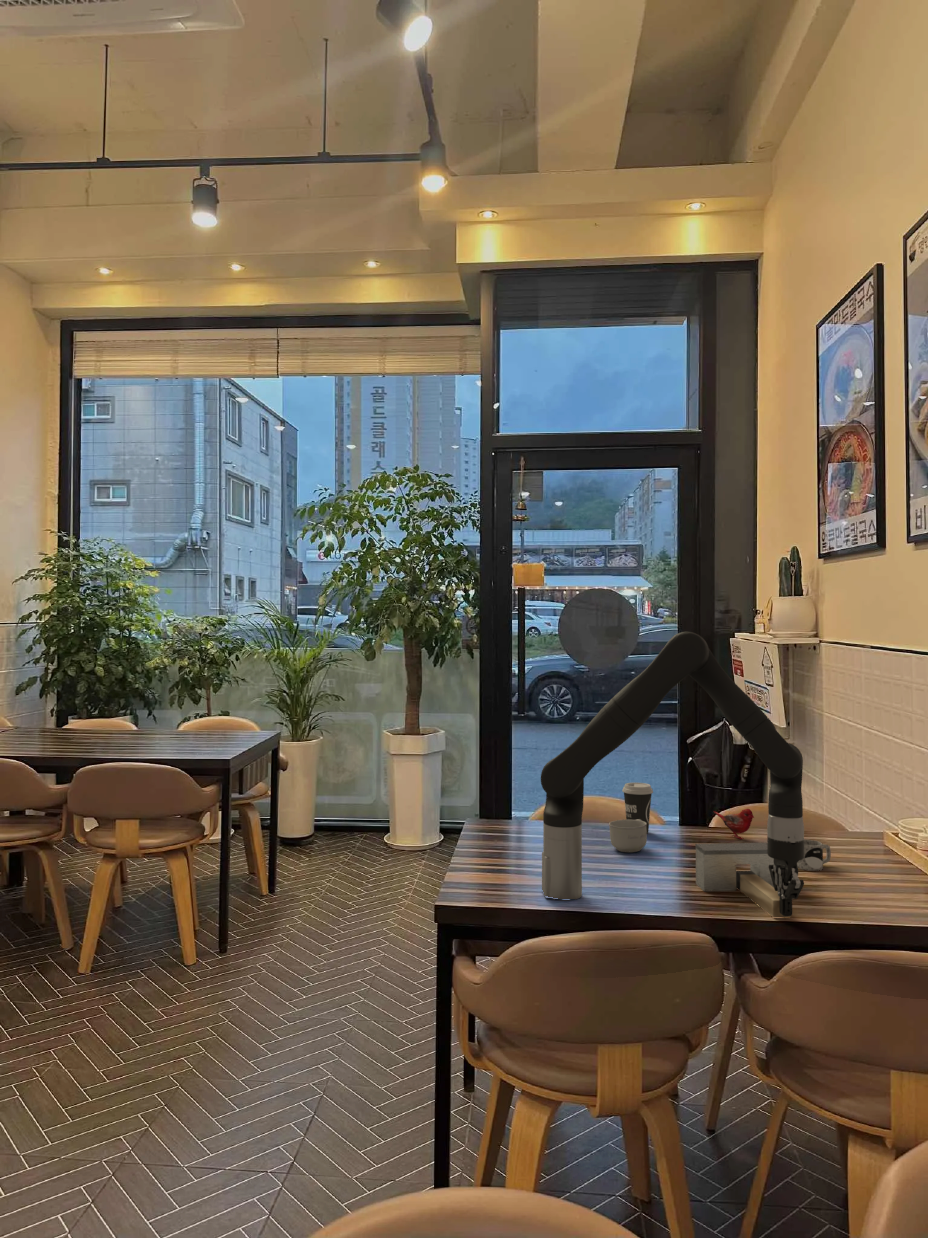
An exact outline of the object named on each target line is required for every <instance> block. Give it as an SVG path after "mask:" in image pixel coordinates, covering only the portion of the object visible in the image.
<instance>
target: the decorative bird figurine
mask: <svg viewBox="0 0 928 1238" xmlns="http://www.w3.org/2000/svg"><path fill="white" fill-rule="evenodd" d="M713 813H714V814H715V815H716V816H718V817H719V818H720V819H721V820H722V821H723V824H724V825H725V827H727V828H728V829H729V830H730V831H731V832H732V833H733V835H732V837H734V838H737V839H738V840H745V838H743V837H741V836H739V834H744V833H746V832H747V831H748V830H749V829H750V827H751V825H752V821H753V818H754V819H755V817H754V815H753V811H752V810H751V809H750V808H745V809H742V810H741V811H740V812H739V813H731V814H727V815H724V814H721V813H719V812H717V811H715V810H713Z"/></svg>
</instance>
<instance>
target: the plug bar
mask: <svg viewBox="0 0 928 1238" xmlns="http://www.w3.org/2000/svg"><path fill="white" fill-rule="evenodd" d="M737 888H738V889H739V892H741V893H742V892H743V893H744V894H745V895H744V894H743V893H742V894H743V895H744V896H745V897H747V896H748V897H749V898H750V899H752V900H753V901H754V902H756V904H758V905H759V906H760V907H762V908H763V909H764V910H765V911H767V912H768V913H769V914H770V915H771V916H773V917H791V918H792V916H783V915H782V914H780V903H779V896H778V891H775V889H774V887H772V886H771V885H770V884H768V883H767V882H766V881H764V880H763V879H762V878H760V877H759V876H758V875H756V874H755V873H754V872H752V871H750V870H736V889H737ZM738 889H737V890H738ZM748 897H747V898H748ZM749 898H748V899H749ZM750 899H749V900H750ZM752 900H751V901H752ZM753 901H752V902H753ZM754 902H753V903H754ZM756 904H755V905H756ZM758 905H757V906H758ZM759 906H758V907H759ZM760 907H759V908H760ZM764 910H763V911H764ZM765 911H764V912H765ZM770 915H769V916H770ZM771 916H770V917H771Z"/></svg>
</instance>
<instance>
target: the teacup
mask: <svg viewBox="0 0 928 1238" xmlns="http://www.w3.org/2000/svg"><path fill="white" fill-rule="evenodd" d="M646 825H647V823H646V822H644V821H642V820H640V819H636V820H629V819H628V820H626V819H617V820H612V821H609V823H608V826H609V839H610V843H611V845H612V847H614V848H615V849H616V850H617V851H618V852H621V853H636V852H640V851H641V850H642V849H643V848H644V847H646V844H647V841H648V840H647V839H648V834H647V829H646Z"/></svg>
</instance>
